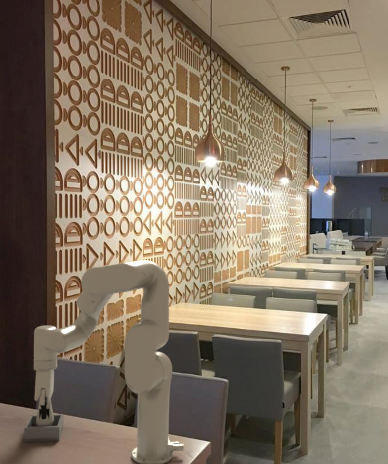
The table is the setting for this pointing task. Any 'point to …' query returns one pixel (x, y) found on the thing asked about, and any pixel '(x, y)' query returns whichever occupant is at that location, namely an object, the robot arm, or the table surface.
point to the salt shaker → (46, 421)
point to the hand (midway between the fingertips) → (45, 417)
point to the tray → (43, 430)
